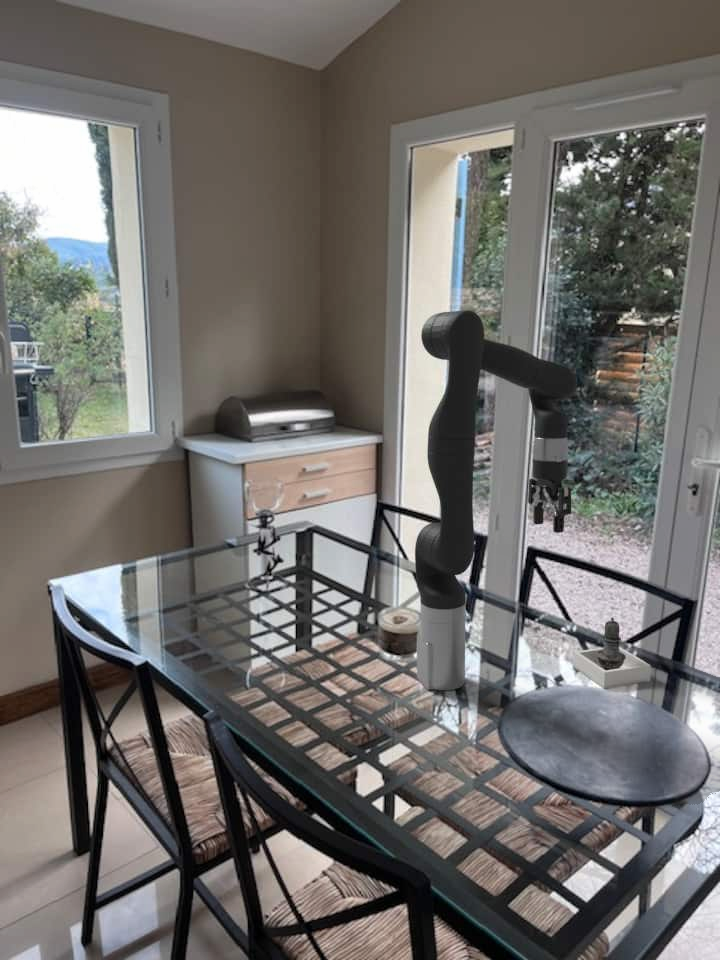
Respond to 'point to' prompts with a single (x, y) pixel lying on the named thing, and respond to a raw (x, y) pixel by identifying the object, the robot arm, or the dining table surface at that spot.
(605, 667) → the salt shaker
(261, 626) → the dining table surface
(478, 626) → the dining table surface
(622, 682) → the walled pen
